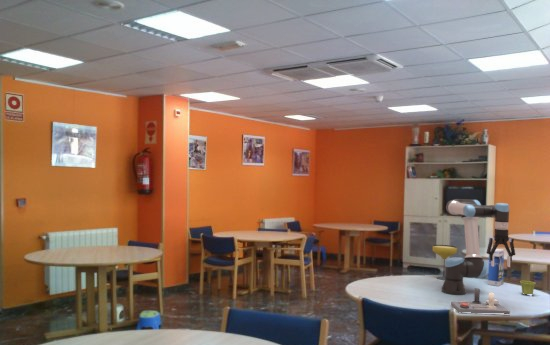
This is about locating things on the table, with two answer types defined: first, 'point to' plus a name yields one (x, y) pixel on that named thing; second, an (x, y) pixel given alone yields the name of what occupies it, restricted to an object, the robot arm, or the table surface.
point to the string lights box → (496, 268)
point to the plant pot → (527, 287)
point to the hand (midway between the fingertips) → (500, 266)
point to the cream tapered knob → (491, 301)
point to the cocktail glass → (444, 254)
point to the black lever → (476, 296)
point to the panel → (478, 307)
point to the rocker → (494, 301)
